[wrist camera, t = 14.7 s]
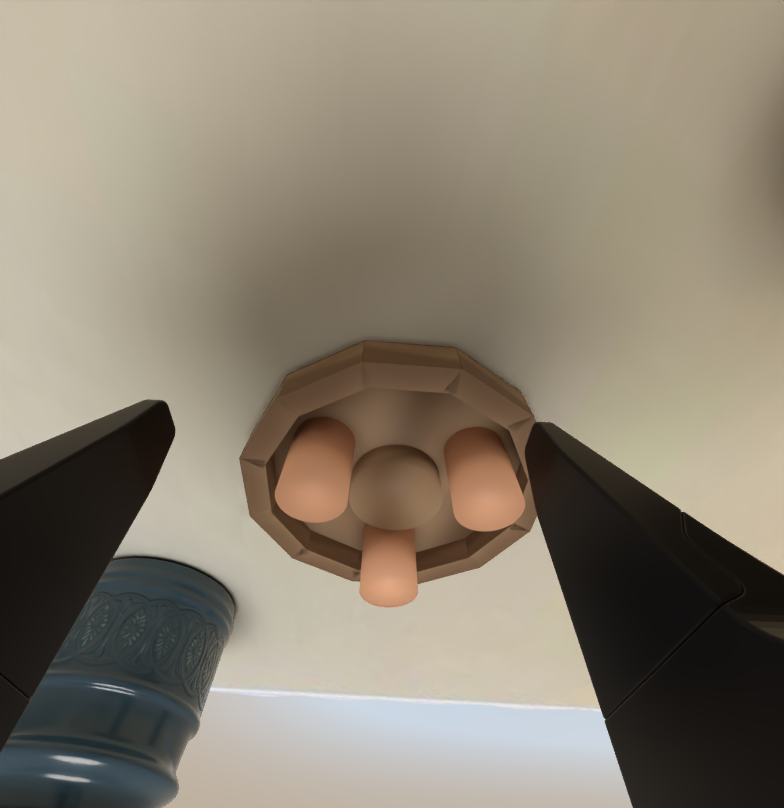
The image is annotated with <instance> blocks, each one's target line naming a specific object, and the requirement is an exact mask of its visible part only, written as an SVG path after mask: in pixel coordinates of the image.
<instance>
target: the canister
mask: <svg viewBox="0 0 784 808" xmlns="http://www.w3.org/2000/svg"><path fill="white" fill-rule="evenodd" d="M234 613H235V607H234V603H233V600H232V599H231V597H230V595H229V594H228V593H227V592H226V590H225V589H224V588H223V587H222V586H220V585H219V584H218V583H217V582H216V581H214V580H213V579H211V578H209V577H208V576H206V575H204V574H202V573H200V572H198V571H196V570H194V569H191V568H189V567H186V566H183V565H180V564H176V563H173V562H168V561H163V560H157V559H149V558H125V559H118V560H113V561H110V563H109V565H108V566H107V568H106V570H105V572H104V573H103V575H102V577H101V579H100V580H99V582H98V584H97V586H96V587H95V589H94V591H93V593H92V594H91V596H90V598H89V599H88V601H87V603H86V605H85V606H84V608H83V610H82V612H81V613H80V615H79V617H78V619H77V620H76V622H75V624H74V626H73V627H72V629H71V631H70V633H69V634H68V636H67V638H66V639H65V641H64V643H63V645H62V646H61V648H60V650H59V652H58V653H57V655H56V657H55V659H54V660H53V662H52V664H51V666H50V667H49V669H48V671H47V672H46V674H45V676H44V678H43V679H42V681H41V683H40V685H39V686H38V688H37V690H36V692H35V693H34V695H33V697H32V698H29V699H30V703H29V704H28V706H27V708H26V710H25V711H24V713H23V715H22V717H21V718H20V720H19V722H18V723H17V725H16V727H15V729H14V730H13V732H12V734H11V736H10V737H9V739H8V741H7V743H6V744H5V746H4V748H3V750H2V751H1V753H0V808H162V807H164V806H166V805H167V804H168V803H170V802H171V801H172V800H173V799H174V798H175V797H176V795H177V794H178V790H179V784H178V780H177V777H176V770H177V767H178V765H179V762H180V760H181V757H182V755H183V752H184V750H185V747H186V745H187V743H188V741H190V740H191V739H192V738H193V737H194V736H195V735H196V734H197V732H198V730H199V726H200V717H201V714H202V711H203V708H204V705H205V702H206V699H207V696H208V693H209V690H210V687H211V684H212V682H213V679H214V676H215V673H216V670H217V667H218V664H219V661H220V658H221V655H222V652H223V649H224V648H225V647H226V645H227V643H228V641H229V637H230V634H231V632H232V628H233V617H234Z"/></svg>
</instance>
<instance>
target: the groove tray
mask: <svg viewBox="0 0 784 808" xmlns="http://www.w3.org/2000/svg"><path fill="white" fill-rule="evenodd" d="M314 417H329V418H333V419H336V420H338V421H340V422H342V423H344V424H345V425H346V426H347V427H348V428H349V429H350V430H351V432H352V433H353V435H354V439H355V447H354V455H353V463H352V471H351V479H350V487H349V495H348V503H347V507H346V509H345V510H344V512H343V513H342V514H341V515H339V516H338V517H336V518H335V519H332V520H330V521H326V522H319V523H312V522H305V521H301V520H298V519H295V518H293V517H291V516H289V515H287V514H286V513H285V512H284V511H283V510H281V508H280V507H279V506H278V504H277V502H276V499H275V490H276V487H277V484H278V481H279V478H280V475H281V472H282V469H283V466H284V463H285V460H286V458H287V455H288V452H289V449H290V446H291V443H292V440H293V437H294V434H295V432H296V429H297V428H298V426H299V425H300V424H301V423H303V422H304V421H306V420H308V419H311V418H314ZM534 423H536V421H535V418H534V416H533V414H532V412H531V410H530V408H529V406H528V405H527V403H526V401H525V399H524V397H523V395H522V393H521V392H520V391H519V390H517V389H516V388H514V387H513V386H511V385H510V384H508V383H507V382H505V381H504V380H502V379H501V378H500V377H498V376H497V375H495V374H494V373H492V372H491V371H489V370H488V369H486V368H485V367H483V366H482V365H480V364H479V363H477V362H476V361H475V360H473V359H472V358H470V357H469V356H467V355H466V354H464V353H463V352H461V351H460V350H458V349H457V348H453V347H440V346H427V345H414V344H401V343H388V342H375V341H363V342H361V343H359V344H356V345H354V346H352V347H350V348H347V349H345V350H343V351H341V352H338V353H336V354H334V355H332V356H329V357H327V358H325V359H323V360H320V361H318V362H316V363H314V364H311V365H309V366H307V367H305V368H302V369H300V370H298V371H296V372H293V373H291V374H289V375H287V377H286V378H285V380H284V382H283V383H282V385H281V387H280V388H279V390H278V391H277V393H276V395H275V396H274V398H273V399H272V401H271V403H270V404H269V406H268V407H267V409H266V411H265V412H264V414H263V416H262V417H261V419H260V420H259V422H258V424H257V425H256V427H255V428H254V430H253V432H252V434H251V436H250V438H249V440H248V442H247V444H246V446H245V448H244V450H243V452H242V454H241V456H240V458H239V459H240V465H241V470H242V476H243V481H244V487H245V492H246V498H247V503H248V509H249V514H250V517H251V518H252V519H253V520H254V521H255V522H256V523H257V524H258V525H259V526H260V527H262V528H263V529H264V530H265V531H266V532H267V533H268V534H269V535H270V536H271V537H272V538H273V539H274V540H275V541H276V542H277V543H278V544H279V545H280V546H281V547H282V548H283V549H284V550H285V551H286V552H287V553H288V554H289V555H290V556H291V557H292V558H293V559H296V560H298V561H301V562H304V563H306V564H309V565H311V566H314V567H317V568H319V569H322V570H324V571H327V572H330V573H332V574H335V575H337V576H340V577H343V578H345V579H348V580H350V581H360V577H361V563H362V549H363V536H364V527H365V525H366V523H367V524H369V525H371V526H374V527H377V528H380V529H386V530H405V529H411V528H414V534H415V551H416V567H417V584H420V583H424V582H428V581H431V580H435V579H439V578H443V577H446V576H450V575H454V574H458V573H461V572H465V571H469V570H473V569H476V568H480V567H482V566H483V565H484V564H486V563H487V562H488V561H490V560H491V559H493V558H494V557H495V556H497V555H498V554H499V553H501V552H502V551H504V550H505V549H506V548H508V547H509V546H510V545H512V544H513V543H515V542H516V541H517V540H519V539H520V538H521V537H523V536H524V535H526V534H527V533H528V532H530V530H531V528H532V526H533V524H534V521H535V519H536V517H537V512H536V509H535V505H534V500H533V495H532V490H531V485H530V480H529V475H528V470H527V465H526V460H525V446H526V443H527V440H528V437H529V434H530V431H531V428H532V426H533V424H534ZM470 427H484V428H488V429H491V430H493V431H495V432H496V433H497V434H498V435H499V436H500V437H501V439H502V441H503V444H504V446H505V449H506V452H507V454H508V457H509V459H510V462H511V465H512V467H513V470H514V473H515V475H516V478H517V481H518V483H519V486H520V489H521V491H522V494H523V496H524V499H525V509H524V511H523V513H522V515H521V516H520V517H519V518H518V520H516V521H515V522H514V523H512V524H511V525H509V526H507V527H505V528H502V529H499V530H495V531H475V530H471V529H468V528H466V527H464V526H462V525H461V524H460V523H459V522H458V521H457V520H456V518H455V516H454V512H453V506H452V500H451V494H450V488H449V482H448V476H447V470H446V464H445V458H444V447H445V444H446V442H447V441H448V440H449V438H450V437H451V436H452V435H454V434H455V433H457V432H458V431H460V430H463V429H466V428H470Z"/></svg>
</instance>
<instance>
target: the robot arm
mask: <svg viewBox="0 0 784 808" xmlns="http://www.w3.org/2000/svg"><path fill="white" fill-rule="evenodd" d="M174 437H175V426H174V423H173V419H172V416H171V413H170V410H169V407H168V405H167V403H166V402H165V401H163V400H144V401H141V402H139V403H136V404H134V405H131V406H129V407H127V408H124V409H122V410H119V411H117V412H114V413H112V414H110V415H107V416H105V417H102V418H100V419H97V420H95V421H93V422H90V423H88V424H85V425H83V426H80V427H78V428H76V429H73V430H71V431H68V432H66V433H64V434H61V435H59V436H56V437H54V438H51V439H49V440H47V441H44V442H42V443H39V444H37V445H34V446H32V447H30V448H27V449H25V450H22V451H20V452H17V453H15V454H13V455H10V456H8V457H5V458H3V459H0V753H1V751H2V750H3V748H4V746H5V744H6V743H7V741H8V739H9V737H10V736H11V734H12V732H13V730H14V729H15V727H16V725H17V723H18V722H19V720H20V718H21V717H22V715H23V713H24V711H25V710H26V708H27V706H28V704H29V703H30V699H29V698H32V697H33V695H34V693H35V692H36V690H37V688H38V686H39V685H40V683H41V681H42V679H43V678H44V676H45V674H46V672H47V671H48V669H49V667H50V666H51V664H52V662H53V660H54V659H55V657H56V655H57V653H58V652H59V650H60V648H61V646H62V645H63V643H64V641H65V639H66V638H67V636H68V634H69V633H70V631H71V629H72V627H73V626H74V624H75V622H76V620H77V619H78V617H79V615H80V613H81V612H82V610H83V608H84V606H85V605H86V603H87V601H88V599H89V598H90V596H91V594H92V593H93V591H94V589H95V587H96V586H97V584H98V582H99V580H100V579H101V577H102V575H103V573H104V572H105V570H106V568H107V566H108V565H109V563H110V561H111V560H112V558H113V556H114V554H115V553H116V551H117V549H118V547H119V546H120V544H121V542H122V540H123V539H124V537H125V535H126V533H127V532H128V530H129V528H130V526H131V525H132V523H133V521H134V520H135V518H136V516H137V514H138V513H139V511H140V509H141V507H142V506H143V504H144V502H145V500H146V499H147V497H148V495H149V493H150V491H151V489H152V487H153V485H154V483H155V481H156V479H157V476H158V474H159V472H160V469H161V467H162V465H163V462H164V460H165V458H166V456H167V453H168V451H169V449H170V446H171V444H172V442H173V439H174ZM525 460H526V465H527V470H528V475H529V480H530V485H531V490H532V495H533V500H534V505H535V509H536V512H537V516H538V519H539V522H540V525H541V528H542V531H543V534H544V537H545V540H546V543H547V547H548V550H549V553H550V556H551V559H552V562H553V565H554V568H555V571H556V574H557V577H558V580H559V583H560V586H561V589H562V592H563V595H564V598H565V601H566V604H567V607H568V611H569V614H570V617H571V620H572V623H573V626H574V629H575V632H576V635H577V638H578V641H579V644H580V647H581V650H582V653H583V656H584V659H585V662H586V665H587V668H588V672H589V675H590V678H591V681H592V684H593V687H594V690H595V693H596V696H597V699H598V702H599V705H600V708H601V711H602V714H603V717H604V718H605V719H606V720H605V724H606V727H607V730H608V733H609V736H610V739H611V742H612V746H613V748H614V751H615V755H616V758H617V761H618V764H619V767H620V770H621V773H622V776H623V779H624V782H625V785H626V788H627V791H628V794H629V797H630V800H631V803H632V806H633V808H784V575H783V574H781V573H780V572H778V571H776V570H775V569H773V568H771V567H770V566H768V565H767V564H765V563H763V562H762V561H760V560H758V559H757V558H755V557H753V556H752V555H750V554H749V553H747V552H745V551H744V550H742V549H740V548H739V547H737V546H736V545H734V544H732V543H731V542H729V541H727V540H726V539H724V538H723V537H721V536H720V535H718V534H717V533H715V532H714V531H712V530H711V529H709V528H708V527H706V526H705V525H703V524H701V523H700V522H698V521H697V520H696V519H694V518H693V517H691V516H690V515H688V514H687V513H685V512H681V510H680V509H679V508H678V507H676V506H675V505H673V504H672V503H670V502H669V501H667V500H666V499H664V498H663V497H661V496H660V495H658V494H657V493H655V492H654V491H652V490H651V489H650V488H648V487H647V486H645V485H644V484H642V483H641V482H639V481H638V480H636V479H635V478H633V477H632V476H630V475H629V474H627V473H626V472H624V471H623V470H621V469H620V468H618V467H617V466H615V465H614V464H612V463H611V462H609V461H608V460H606V459H605V458H603V457H602V456H601V455H599V454H598V453H596V452H595V451H593V450H592V449H590V448H589V447H587V446H586V445H584V444H583V443H581V442H580V441H578V440H577V439H575V438H574V437H572V436H571V435H569V434H568V433H566V432H565V431H563V430H562V429H560V428H559V427H557V426H556V425H555V424H553V423H550V422H536V423H534V424H533V426H532V428H531V431H530V434H529V437H528V440H527V443H526V446H525Z"/></svg>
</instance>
